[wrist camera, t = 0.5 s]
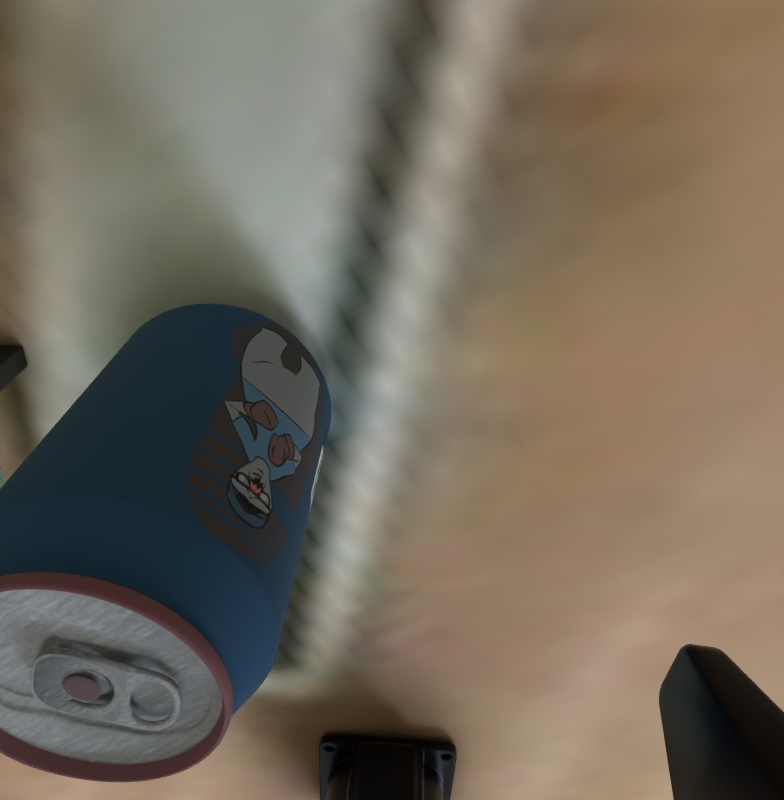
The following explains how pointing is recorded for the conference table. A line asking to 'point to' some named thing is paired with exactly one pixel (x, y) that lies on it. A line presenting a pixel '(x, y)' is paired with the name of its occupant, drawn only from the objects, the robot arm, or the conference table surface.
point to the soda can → (157, 546)
